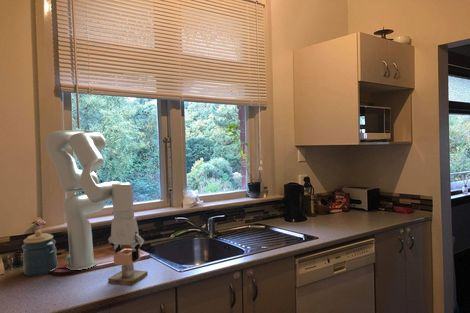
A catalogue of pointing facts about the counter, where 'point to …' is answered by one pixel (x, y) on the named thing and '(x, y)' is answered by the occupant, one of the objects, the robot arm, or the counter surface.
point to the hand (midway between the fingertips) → (127, 259)
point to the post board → (126, 279)
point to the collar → (124, 257)
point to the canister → (39, 254)
